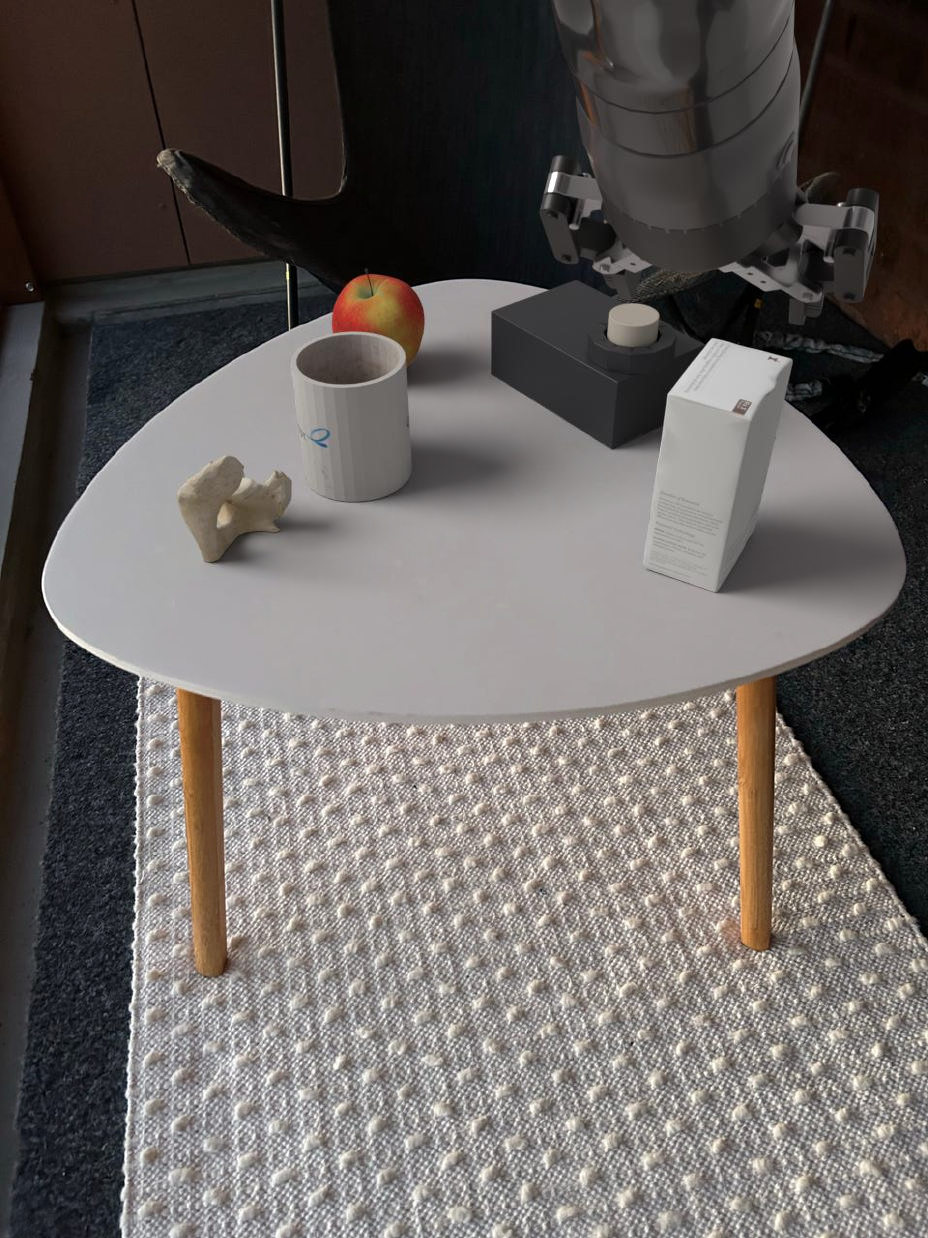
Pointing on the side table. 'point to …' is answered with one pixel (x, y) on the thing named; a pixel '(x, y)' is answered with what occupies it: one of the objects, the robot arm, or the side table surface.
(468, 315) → the side table surface
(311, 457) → the mug
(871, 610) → the side table surface
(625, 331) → the beige push button
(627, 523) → the side table surface
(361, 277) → the apple
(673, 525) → the cosmetic box
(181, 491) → the bone
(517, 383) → the dark gray box
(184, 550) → the side table surface
